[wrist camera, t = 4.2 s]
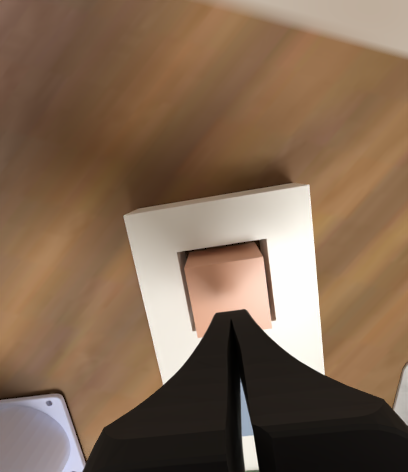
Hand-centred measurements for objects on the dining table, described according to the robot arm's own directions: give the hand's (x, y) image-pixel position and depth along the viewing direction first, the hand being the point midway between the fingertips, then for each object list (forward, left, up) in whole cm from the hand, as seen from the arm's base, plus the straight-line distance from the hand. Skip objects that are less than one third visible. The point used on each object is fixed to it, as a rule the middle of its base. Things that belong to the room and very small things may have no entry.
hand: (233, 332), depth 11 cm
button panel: (0, -8, -7) cm, 11 cm away
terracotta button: (0, 0, -6) cm, 6 cm away
